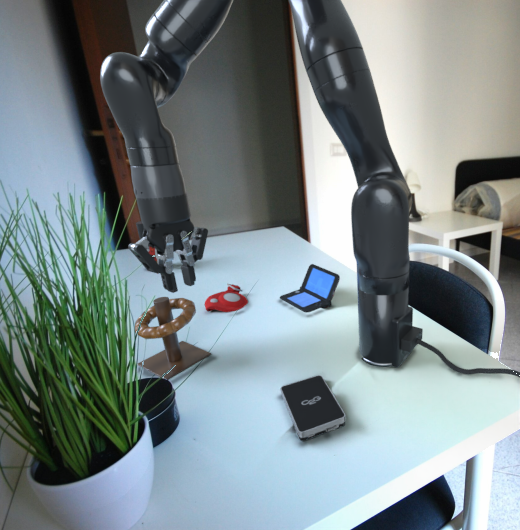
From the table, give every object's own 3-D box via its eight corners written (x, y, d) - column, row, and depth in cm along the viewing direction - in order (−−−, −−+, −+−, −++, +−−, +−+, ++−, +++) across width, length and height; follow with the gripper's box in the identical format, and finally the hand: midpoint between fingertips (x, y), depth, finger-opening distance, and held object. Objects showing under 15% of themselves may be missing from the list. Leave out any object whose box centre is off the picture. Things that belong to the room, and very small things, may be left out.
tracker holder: (254, 305, 89) (210, 307, 83) (251, 320, 90) (207, 323, 84) (241, 279, 97) (200, 278, 91) (238, 293, 99) (198, 293, 93)
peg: (212, 358, 70) (200, 295, 66) (167, 385, 63) (150, 316, 58) (183, 345, 74) (170, 285, 70) (138, 369, 67) (120, 304, 63)
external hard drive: (300, 445, 50) (299, 433, 50) (280, 396, 60) (279, 386, 59) (347, 427, 53) (346, 416, 52) (321, 383, 62) (320, 373, 62)
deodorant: (171, 264, 121) (161, 219, 116) (160, 270, 116) (149, 224, 111) (154, 263, 122) (144, 219, 117) (142, 270, 116) (131, 224, 111)
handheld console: (278, 300, 93) (274, 273, 91) (312, 288, 100) (311, 262, 98) (306, 317, 85) (303, 287, 82) (342, 302, 92) (341, 274, 89)
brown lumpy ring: (208, 311, 67) (204, 302, 66) (158, 347, 60) (153, 338, 59) (176, 299, 72) (172, 291, 71) (127, 332, 65) (121, 323, 64)
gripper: (130, 201, 54) (155, 307, 60) (212, 188, 65) (226, 279, 71) (104, 197, 57) (130, 298, 63) (185, 185, 69) (202, 272, 75)
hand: (181, 287), depth 67 cm, fingers closed
